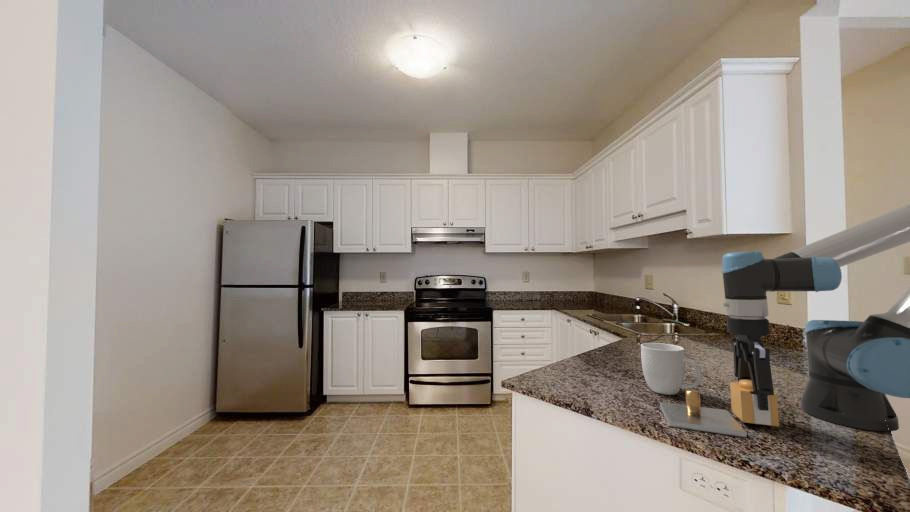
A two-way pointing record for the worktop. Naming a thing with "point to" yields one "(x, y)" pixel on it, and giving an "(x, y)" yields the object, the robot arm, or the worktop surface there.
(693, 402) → the plate with brass peg
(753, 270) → the robot arm
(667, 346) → the mug
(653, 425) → the worktop surface
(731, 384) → the cube with dome top
